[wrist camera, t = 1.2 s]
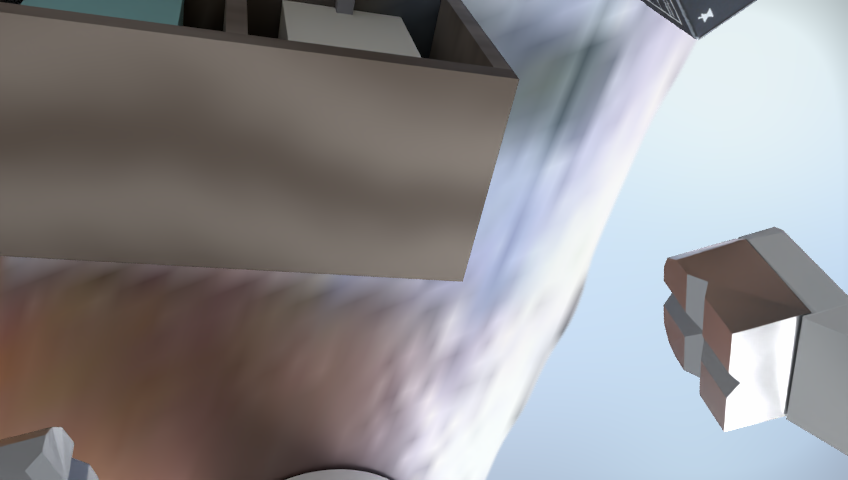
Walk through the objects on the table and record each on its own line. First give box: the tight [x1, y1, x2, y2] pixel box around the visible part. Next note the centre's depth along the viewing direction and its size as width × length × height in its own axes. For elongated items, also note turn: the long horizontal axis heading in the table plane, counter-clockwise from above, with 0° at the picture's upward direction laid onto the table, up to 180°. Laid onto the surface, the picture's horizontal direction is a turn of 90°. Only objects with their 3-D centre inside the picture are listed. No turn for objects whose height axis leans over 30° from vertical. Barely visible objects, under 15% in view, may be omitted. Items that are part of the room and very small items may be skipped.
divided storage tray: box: [0, 0, 519, 282], centre depth 36 cm, size 10×22×11 cm, turn 78°
